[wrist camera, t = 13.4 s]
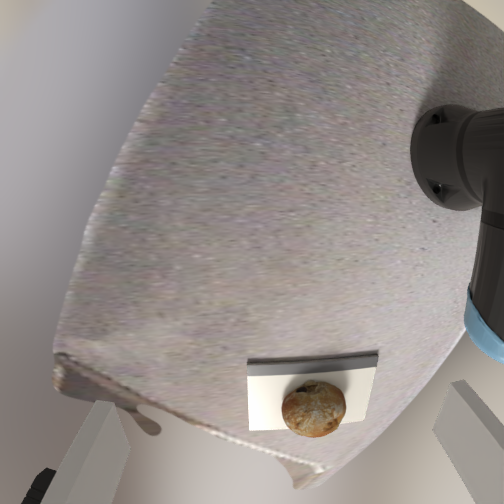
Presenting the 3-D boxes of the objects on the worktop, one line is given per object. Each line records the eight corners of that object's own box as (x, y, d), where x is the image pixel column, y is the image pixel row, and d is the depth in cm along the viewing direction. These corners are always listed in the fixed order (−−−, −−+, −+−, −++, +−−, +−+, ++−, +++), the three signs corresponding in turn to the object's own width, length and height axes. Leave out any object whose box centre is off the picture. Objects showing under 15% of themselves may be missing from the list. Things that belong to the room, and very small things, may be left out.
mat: (377, 353, 46) (378, 356, 45) (363, 418, 49) (364, 420, 49) (247, 362, 46) (247, 365, 45) (249, 427, 49) (249, 430, 48)
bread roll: (329, 363, 49) (330, 375, 42) (355, 413, 47) (360, 432, 39) (275, 390, 51) (267, 405, 43) (302, 438, 48) (299, 459, 41)
